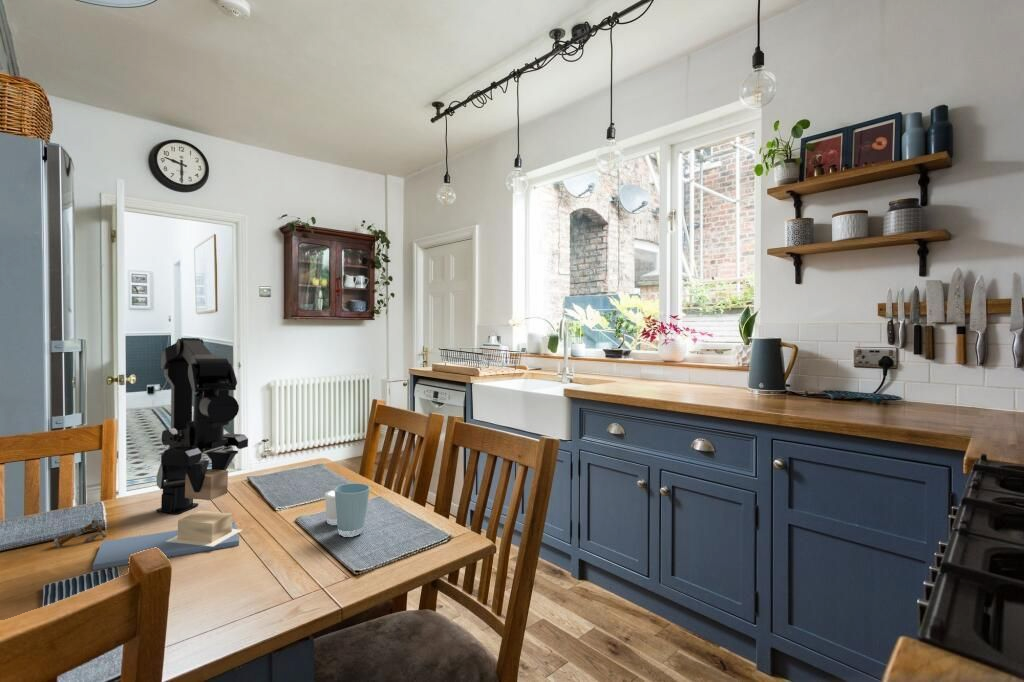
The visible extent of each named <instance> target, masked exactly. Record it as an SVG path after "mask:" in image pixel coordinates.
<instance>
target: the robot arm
mask: <svg viewBox="0 0 1024 682" xmlns="http://www.w3.org/2000/svg"><path fill="white" fill-rule="evenodd" d="M160 368H161V370H163V376H164V378H165V379H166V380H165V381H167V382H168V384H169V386H170V388H171V390H170V391H171V392H170V394H171V395H170V396H171V397H170V428H168V429H167V428H166V429H165V430H162V433H161V443H162V445H163V446H168V448H167V449H165V450H163V452H162V453H160V465H159V467H158V471H157V472H156V473H157V474H156V486H157V487H158V488H159V489H160V490H162V493H161V501H160V503H161V505H160V506H161V507H159V508H157V509H156V511H155V512H158V513H165V514H166V513H168V514H175V515H176V514H182V513H184V512H187V511H188V510H191V509H193V508H196V507H199V503H198V502H197V503H196V502H193V501H194V499H190V498H185V478H186V474H187V475H188V477H189V480H190V482H191V485H192V488H193V490H194V492H200V490H201V488H202V485H203V481H204V478H205V474H206V470H207V469H208V466H209V463H211V469H217V470H228V467H229V466H230V464H231V463H232V462H233V460H234V458H235V456H236V455H237V454H239V450H242V449H246V448H247V447H249V438H248V436H246V434H241V433H240V434H239V433H224V432H225V431H224V430H225V427H224V426H227V425H229V422H230V421H232V420H234V419H235V418H236V416H237V415H238V413H239V412H240V411H239V410H240V404H239V403H238V401H237V400H236V398H235V397H234V396H232V395H230V394H229V393H230V391H236V390H237V387H236V386H237V384H238V379H237V377H236V373H235V369H234V367H233V365H232V363H231V362H230V361H229V359H228V358H227V357H224V356H222V355H216V354H215V355H214V354H213V353H212V352H211V351H210V350H209V349H208V347H206V345H205V344H204V339H203V338H200V337H181V338H177V339H176V342H175V343H173V344H171V345H170V346H167V347H166V348H164V349H163V353H162V354H161V358H160ZM193 392H194V395H193ZM234 447H236V448H237V449H238V450H234ZM204 455H208V457H209V459H210V460H211V462H210V461H209V460H205V459H204V458H205V457H204Z"/></svg>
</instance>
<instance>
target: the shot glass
mask: <svg viewBox="0 0 1024 682" xmlns="http://www.w3.org/2000/svg"><path fill="white" fill-rule="evenodd" d="M324 501H325V503H324V504H325V517H327V518H329V519H337V513H336V500H335V489H332V490H329V491H326V492H325V493H324Z"/></svg>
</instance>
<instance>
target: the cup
mask: <svg viewBox="0 0 1024 682" xmlns="http://www.w3.org/2000/svg"><path fill="white" fill-rule="evenodd" d="M370 489H371V488H370V485H368V484H365V483H361V482H359V483H358V482H351V483H344V484H339V485H338V486H336V487H334V490H335V500H336V513H337V526H336V527H337V530H338V529H339V530H342V531H353V530H357V529H360V528H362V527H363V526H364V527H365V525H364V524H365V522H366V518H367V517H366V516H367V511H368V503H369V496H370Z"/></svg>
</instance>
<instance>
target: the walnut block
mask: <svg viewBox="0 0 1024 682" xmlns="http://www.w3.org/2000/svg"><path fill="white" fill-rule="evenodd" d="M228 480H229V470H228V469H226V470H217V469H212V468H207V470H206V474H205V478H204V481H203V485H202V488H201V490H200V492H194V490H193V488H192V485H191V482H190V480H189V477H188V475H187V474H186V478H185V498H190V499H193V500H201V501H202V500H204V501H213V500H214V499H218V498H220V497H222V496H225V495H226V494H228V485H229V484H228V483H229V482H228Z"/></svg>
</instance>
